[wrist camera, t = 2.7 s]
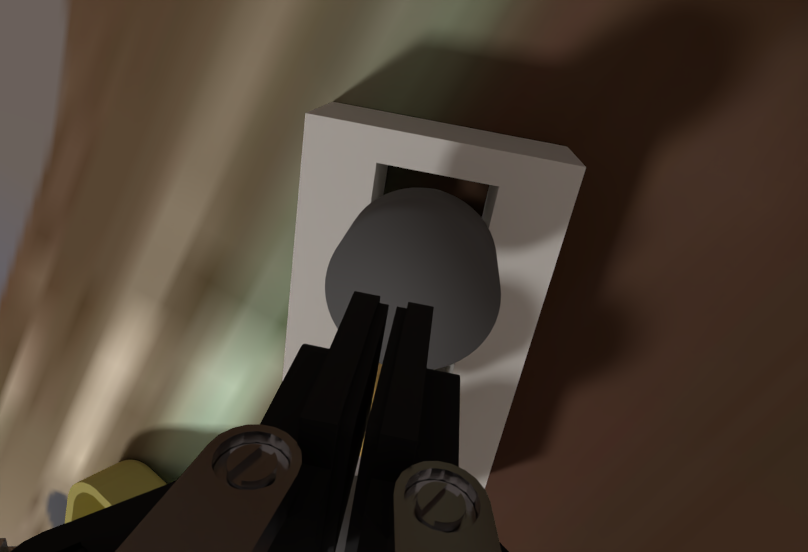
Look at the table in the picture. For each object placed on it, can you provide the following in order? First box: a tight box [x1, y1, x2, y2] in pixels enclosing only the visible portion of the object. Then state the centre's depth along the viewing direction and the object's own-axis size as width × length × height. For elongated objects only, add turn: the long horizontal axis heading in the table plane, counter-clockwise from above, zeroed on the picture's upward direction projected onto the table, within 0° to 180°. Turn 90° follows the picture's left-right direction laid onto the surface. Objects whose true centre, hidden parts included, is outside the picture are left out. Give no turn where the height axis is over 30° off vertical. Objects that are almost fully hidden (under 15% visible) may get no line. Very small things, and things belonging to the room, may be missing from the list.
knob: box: [325, 188, 501, 369], centre depth 18 cm, size 5×5×6 cm
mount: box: [282, 102, 586, 489], centre depth 24 cm, size 10×19×4 cm, turn 171°
